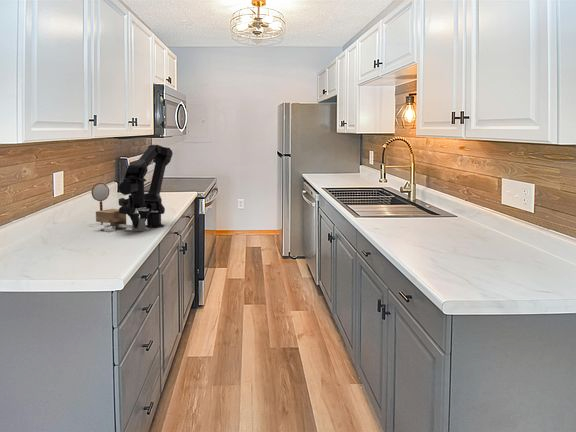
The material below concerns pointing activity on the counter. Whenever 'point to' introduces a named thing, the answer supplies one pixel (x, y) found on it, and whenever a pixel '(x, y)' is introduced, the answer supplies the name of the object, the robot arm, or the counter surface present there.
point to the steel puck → (109, 228)
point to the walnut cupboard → (111, 217)
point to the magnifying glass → (100, 193)
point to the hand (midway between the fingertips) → (138, 227)
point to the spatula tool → (139, 227)
